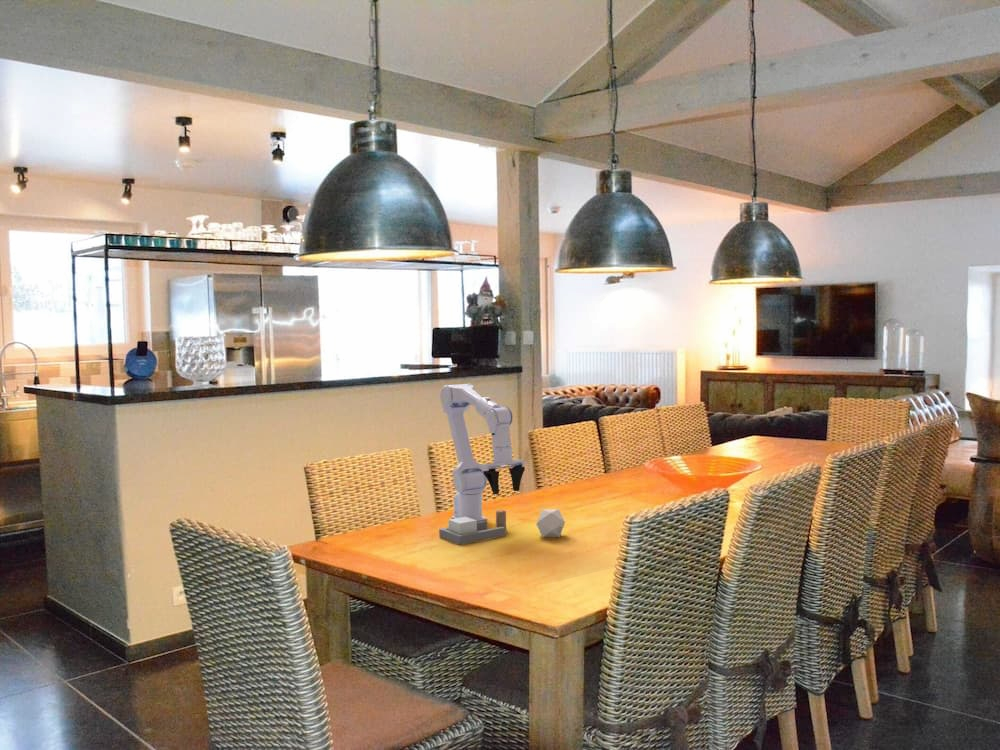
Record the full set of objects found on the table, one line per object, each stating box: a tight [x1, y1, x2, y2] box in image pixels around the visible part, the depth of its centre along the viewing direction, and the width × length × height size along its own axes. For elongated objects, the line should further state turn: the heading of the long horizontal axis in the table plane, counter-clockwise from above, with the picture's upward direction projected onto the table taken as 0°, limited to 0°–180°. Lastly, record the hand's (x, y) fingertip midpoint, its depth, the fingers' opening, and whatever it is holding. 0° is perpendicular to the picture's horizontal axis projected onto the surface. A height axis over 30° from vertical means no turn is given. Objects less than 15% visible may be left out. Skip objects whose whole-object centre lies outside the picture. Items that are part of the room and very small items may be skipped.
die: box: [536, 508, 566, 538], centre depth 258 cm, size 8×9×10 cm
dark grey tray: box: [438, 520, 506, 546], centre depth 259 cm, size 11×16×2 cm
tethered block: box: [447, 510, 507, 535], centre depth 260 cm, size 6×18×6 cm, turn 126°
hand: (506, 492), depth 262 cm, fingers open, 7 cm apart
